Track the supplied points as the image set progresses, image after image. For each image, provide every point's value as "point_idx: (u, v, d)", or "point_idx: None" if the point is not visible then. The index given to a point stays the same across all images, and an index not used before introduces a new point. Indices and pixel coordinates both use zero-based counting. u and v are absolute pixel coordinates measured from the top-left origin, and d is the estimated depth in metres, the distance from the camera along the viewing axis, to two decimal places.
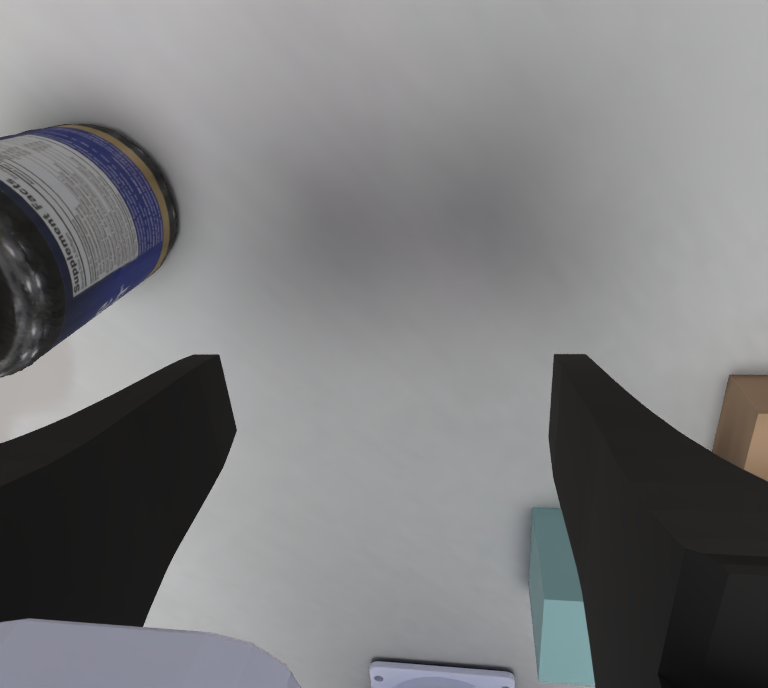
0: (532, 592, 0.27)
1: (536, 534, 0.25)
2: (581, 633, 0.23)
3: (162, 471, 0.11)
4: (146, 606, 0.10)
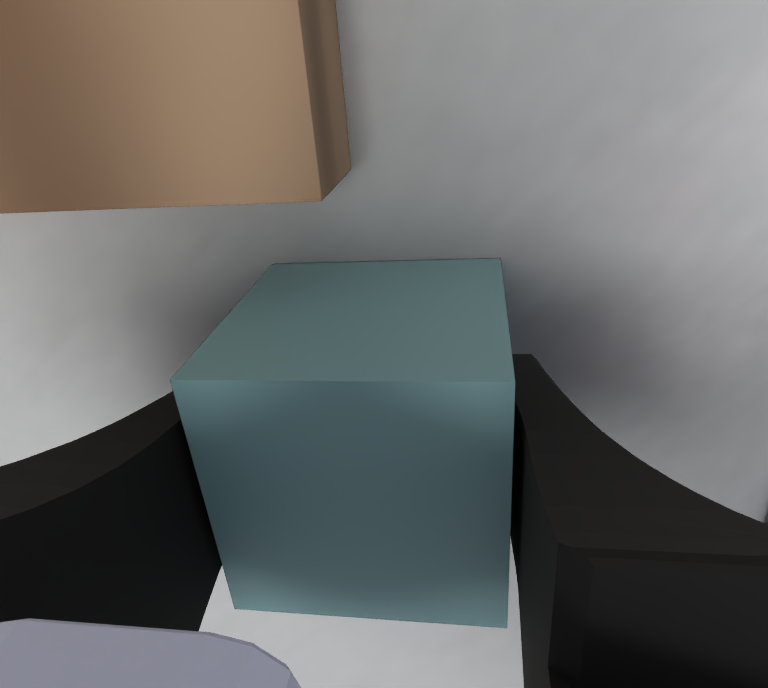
0: None
1: None
2: (317, 556, 0.10)
3: None
4: (201, 610, 0.10)
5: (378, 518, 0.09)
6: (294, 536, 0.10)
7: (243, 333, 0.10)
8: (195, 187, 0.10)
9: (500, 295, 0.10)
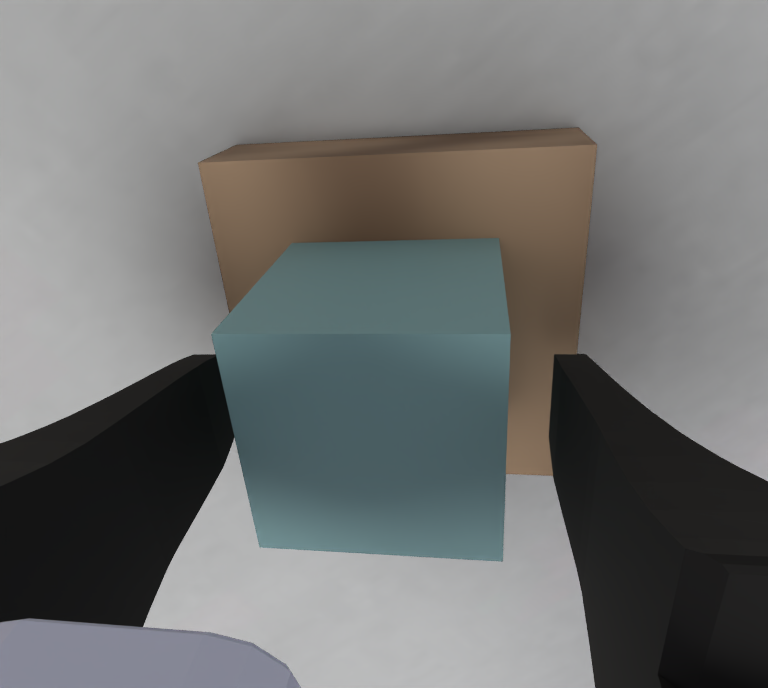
0: None
1: None
2: (336, 496, 0.11)
3: (162, 471, 0.11)
4: (147, 605, 0.10)
5: (390, 459, 0.11)
6: (315, 478, 0.11)
7: (271, 298, 0.11)
8: None
9: (498, 268, 0.12)
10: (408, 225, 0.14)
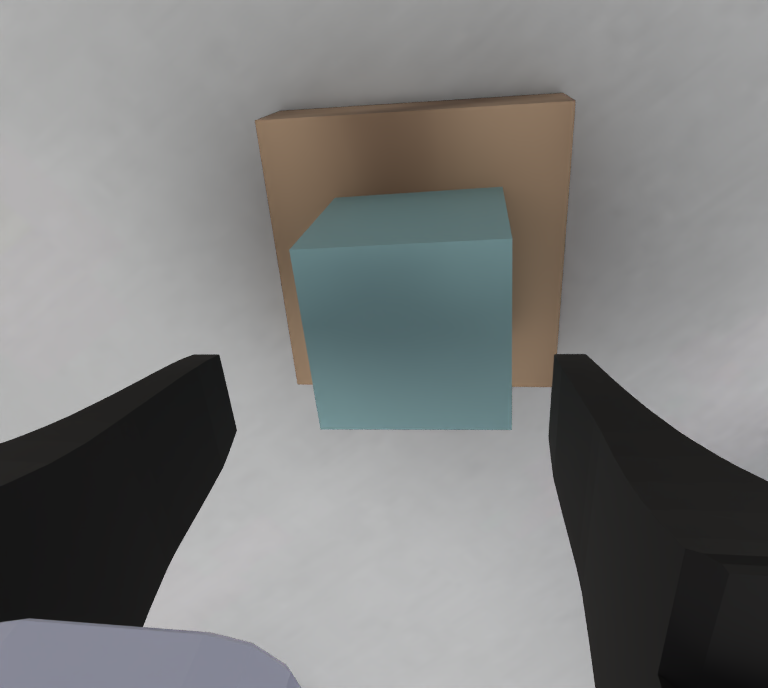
0: None
1: None
2: (381, 380, 0.15)
3: (162, 471, 0.11)
4: (146, 606, 0.10)
5: (423, 346, 0.14)
6: (365, 365, 0.14)
7: (328, 229, 0.15)
8: None
9: (502, 204, 0.15)
10: (424, 170, 0.17)
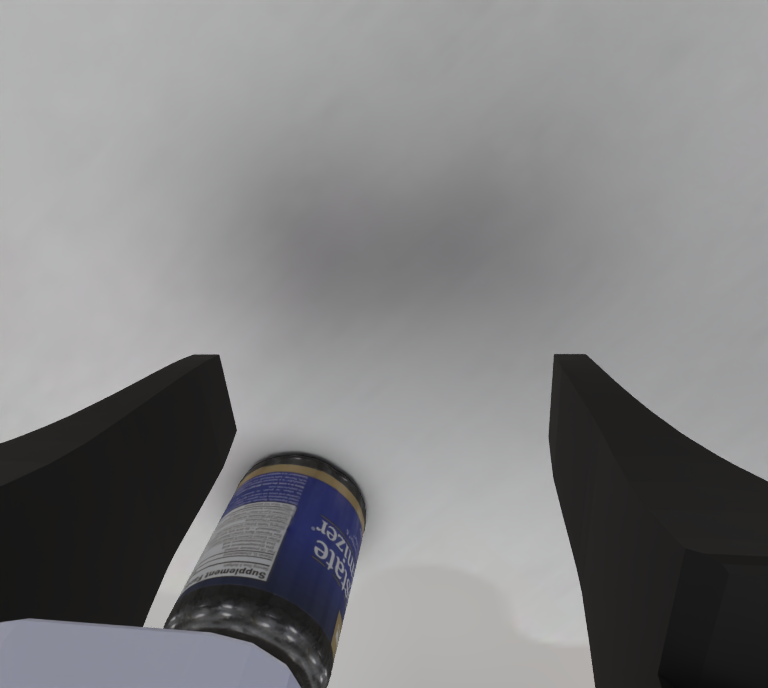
0: None
1: None
2: None
3: (162, 471, 0.11)
4: (147, 606, 0.10)
5: None
6: None
7: None
8: None
9: None
10: None
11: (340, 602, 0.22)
